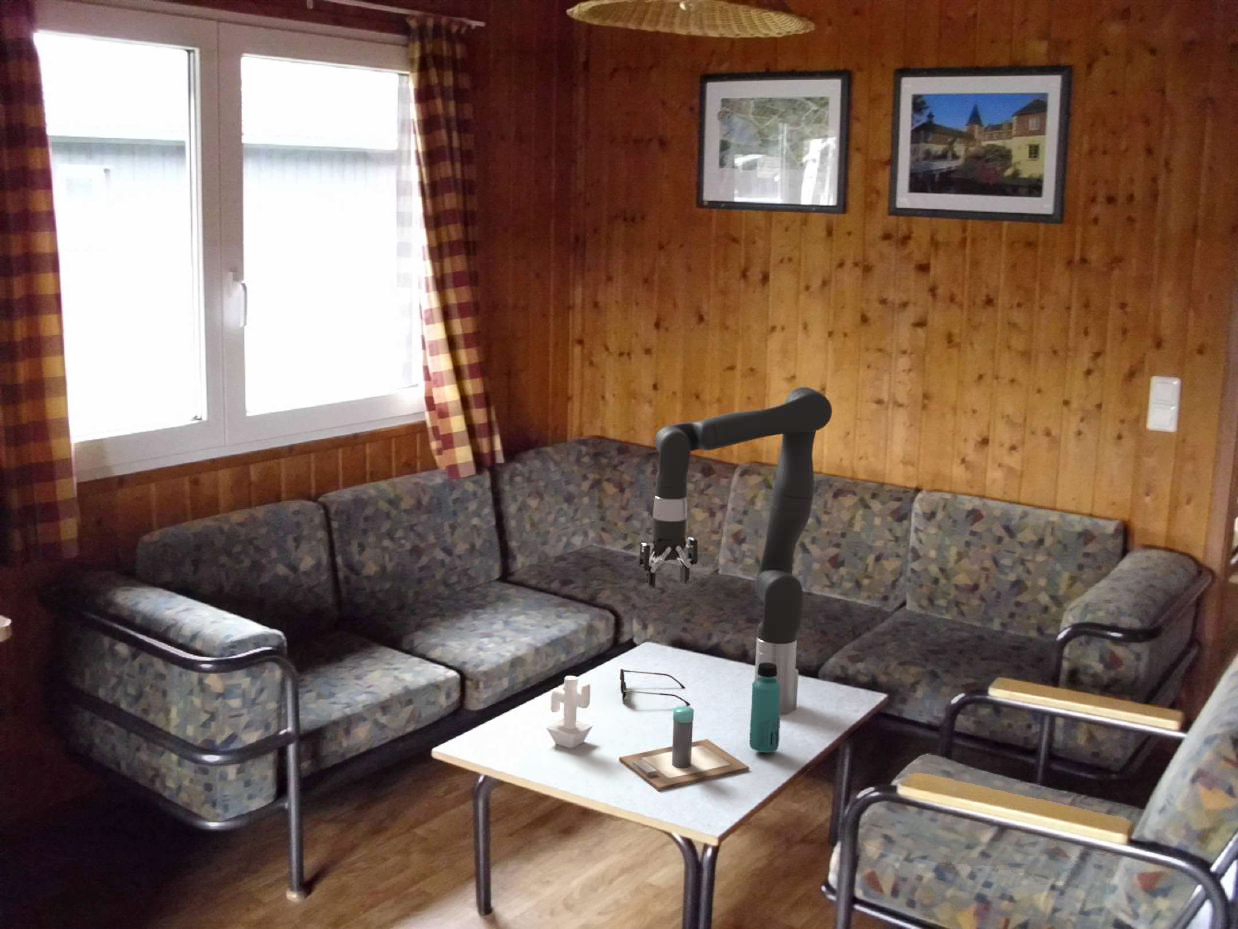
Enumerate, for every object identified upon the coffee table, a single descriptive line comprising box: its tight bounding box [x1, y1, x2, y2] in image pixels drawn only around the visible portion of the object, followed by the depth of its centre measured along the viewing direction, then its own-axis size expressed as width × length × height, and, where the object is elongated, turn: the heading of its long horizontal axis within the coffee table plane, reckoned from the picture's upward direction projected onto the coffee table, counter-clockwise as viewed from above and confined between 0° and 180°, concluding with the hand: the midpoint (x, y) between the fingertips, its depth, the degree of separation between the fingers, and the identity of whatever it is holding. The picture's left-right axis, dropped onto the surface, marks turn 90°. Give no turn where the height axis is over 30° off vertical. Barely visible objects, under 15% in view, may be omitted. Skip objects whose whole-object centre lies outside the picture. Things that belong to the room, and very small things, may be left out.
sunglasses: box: [619, 668, 691, 706], centre depth 320 cm, size 14×16×5 cm
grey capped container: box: [672, 705, 695, 768], centre depth 279 cm, size 4×4×12 cm
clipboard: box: [618, 738, 750, 792], centre depth 281 cm, size 22×16×2 cm
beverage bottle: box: [748, 662, 782, 753], centre depth 287 cm, size 6×7×20 cm
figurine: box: [546, 675, 594, 749], centre depth 290 cm, size 7×9×15 cm
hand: (667, 585), depth 305 cm, fingers open, 8 cm apart
